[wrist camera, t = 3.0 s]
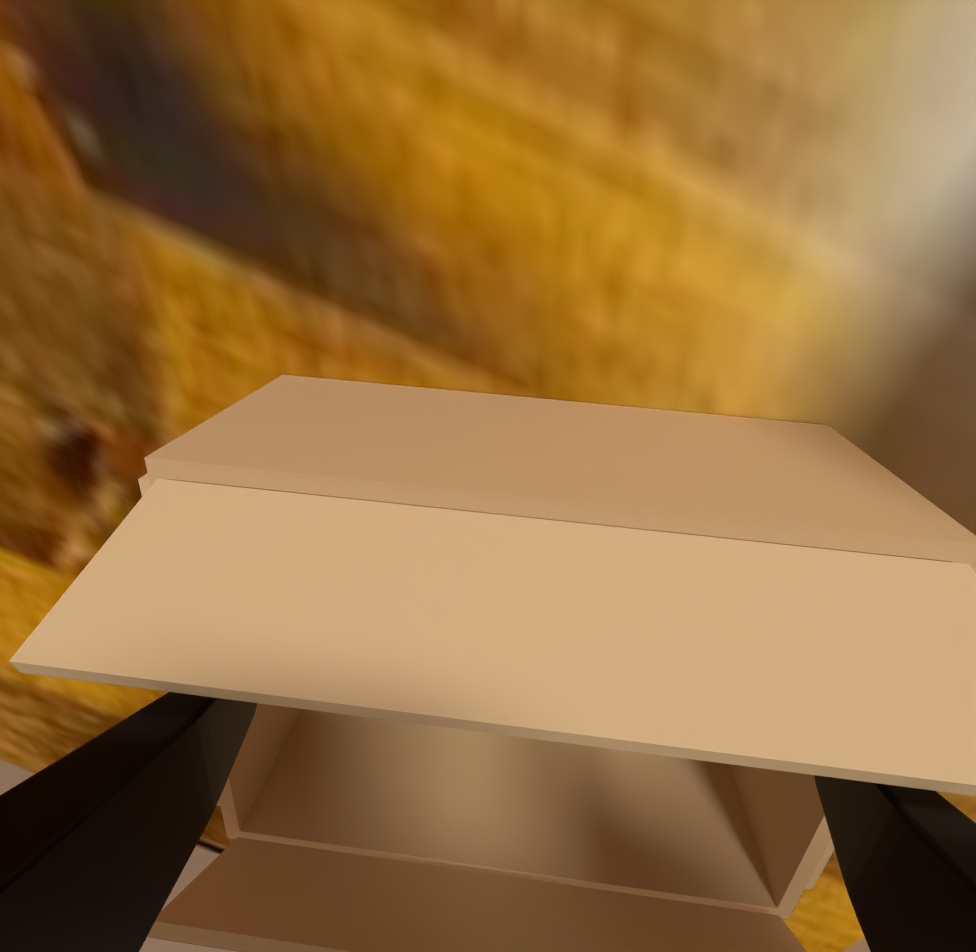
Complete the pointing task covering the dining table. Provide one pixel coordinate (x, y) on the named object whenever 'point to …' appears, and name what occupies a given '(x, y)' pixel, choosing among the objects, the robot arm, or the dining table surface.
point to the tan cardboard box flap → (533, 631)
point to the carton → (524, 761)
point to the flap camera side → (434, 910)
